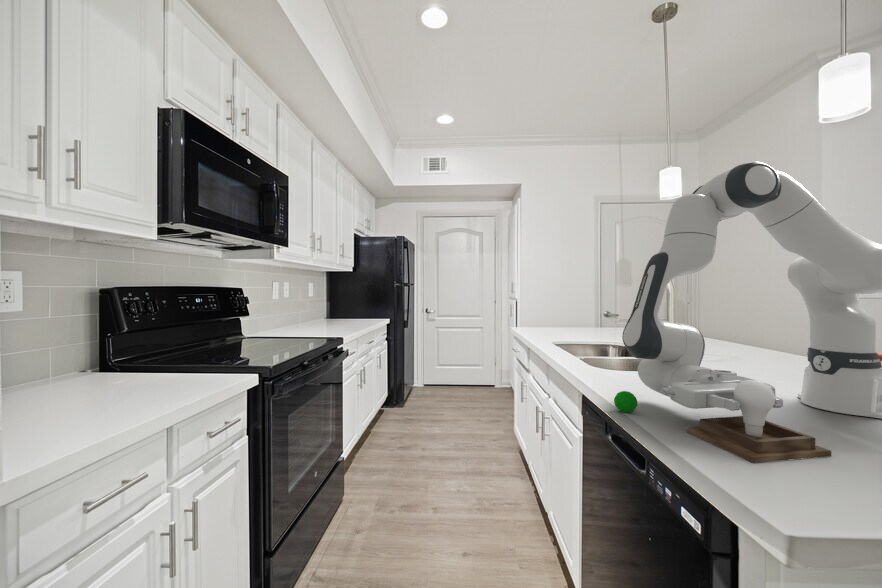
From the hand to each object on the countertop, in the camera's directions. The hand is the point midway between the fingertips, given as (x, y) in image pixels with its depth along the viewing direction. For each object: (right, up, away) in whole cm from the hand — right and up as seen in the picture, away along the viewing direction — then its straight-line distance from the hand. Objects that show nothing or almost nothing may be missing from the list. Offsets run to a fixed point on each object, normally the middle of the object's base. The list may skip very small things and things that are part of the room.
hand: (758, 405), depth 72 cm
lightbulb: (0, -7, +1) cm, 7 cm away
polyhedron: (-15, -8, +20) cm, 26 cm away
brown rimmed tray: (0, -8, +1) cm, 8 cm away
